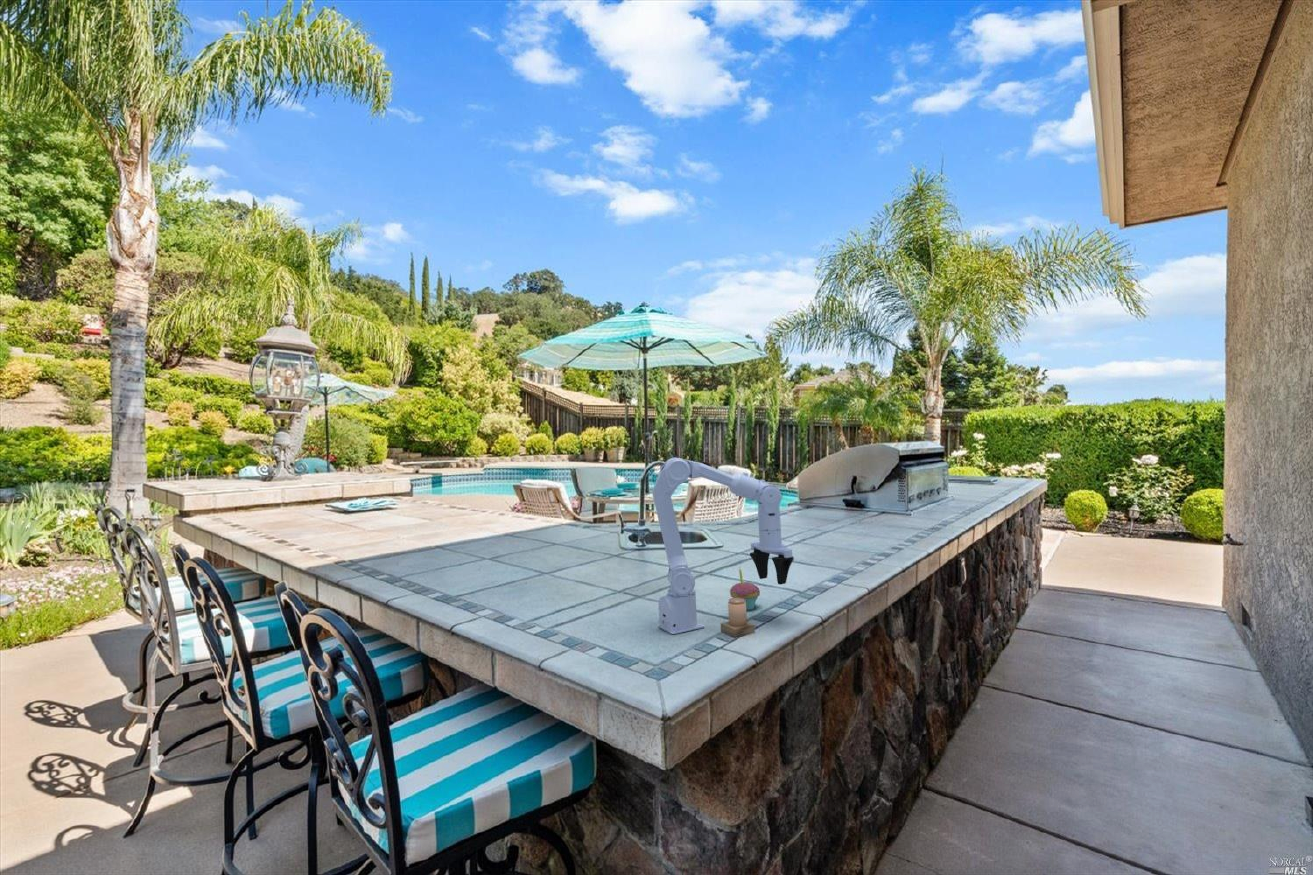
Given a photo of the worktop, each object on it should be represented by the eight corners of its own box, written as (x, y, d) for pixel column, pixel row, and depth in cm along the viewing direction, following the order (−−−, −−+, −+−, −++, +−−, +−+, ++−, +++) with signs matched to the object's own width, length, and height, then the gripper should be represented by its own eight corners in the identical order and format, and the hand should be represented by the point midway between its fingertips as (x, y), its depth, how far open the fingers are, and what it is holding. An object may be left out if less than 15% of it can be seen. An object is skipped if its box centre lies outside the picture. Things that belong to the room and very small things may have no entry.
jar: (735, 627, 141) (734, 603, 141) (725, 622, 145) (724, 599, 145) (750, 624, 143) (749, 600, 143) (740, 619, 147) (739, 596, 147)
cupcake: (751, 613, 158) (749, 570, 158) (724, 609, 163) (722, 567, 163) (765, 605, 165) (763, 563, 165) (739, 601, 170) (737, 561, 170)
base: (735, 637, 140) (734, 629, 140) (721, 631, 145) (720, 623, 145) (754, 632, 143) (754, 624, 143) (740, 626, 148) (739, 618, 148)
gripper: (800, 530, 147) (803, 583, 147) (764, 524, 160) (766, 573, 160) (778, 533, 144) (781, 588, 144) (743, 527, 157) (746, 577, 156)
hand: (772, 580), depth 151 cm, fingers open, 7 cm apart
